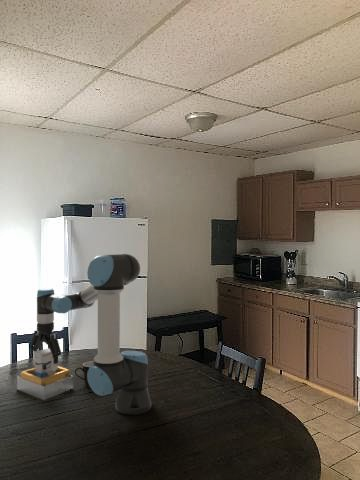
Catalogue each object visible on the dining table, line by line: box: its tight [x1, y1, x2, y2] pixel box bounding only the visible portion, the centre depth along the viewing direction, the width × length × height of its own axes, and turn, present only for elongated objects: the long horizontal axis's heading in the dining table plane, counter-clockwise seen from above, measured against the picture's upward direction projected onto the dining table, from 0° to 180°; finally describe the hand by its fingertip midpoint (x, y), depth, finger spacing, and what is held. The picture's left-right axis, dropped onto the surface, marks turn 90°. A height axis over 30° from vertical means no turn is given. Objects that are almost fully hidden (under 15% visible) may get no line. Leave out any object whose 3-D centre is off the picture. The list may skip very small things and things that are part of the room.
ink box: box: [34, 347, 56, 378], centre depth 184 cm, size 8×5×12 cm, turn 145°
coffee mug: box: [74, 360, 94, 388], centre depth 191 cm, size 12×9×10 cm
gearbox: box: [16, 366, 74, 401], centre depth 186 cm, size 24×16×8 cm, turn 55°
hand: (45, 367), depth 185 cm, fingers open, 13 cm apart
